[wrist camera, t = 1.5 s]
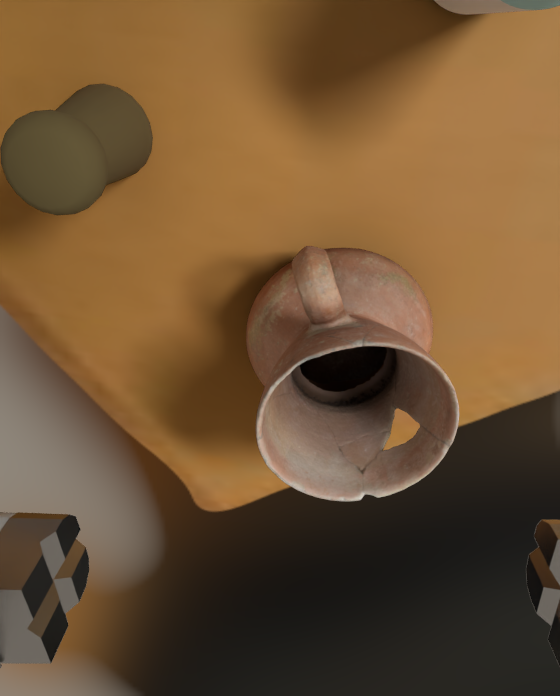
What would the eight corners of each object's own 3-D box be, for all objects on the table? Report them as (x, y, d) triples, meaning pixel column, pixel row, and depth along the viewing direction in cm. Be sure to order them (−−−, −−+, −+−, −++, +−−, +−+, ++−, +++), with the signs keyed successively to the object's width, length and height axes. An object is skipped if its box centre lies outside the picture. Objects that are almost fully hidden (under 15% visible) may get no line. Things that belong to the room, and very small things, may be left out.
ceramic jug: (432, 382, 45) (488, 506, 33) (277, 414, 47) (275, 543, 35) (407, 184, 37) (470, 254, 24) (216, 233, 38) (186, 321, 26)
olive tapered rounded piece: (150, 88, 33) (97, 112, 24) (154, 182, 36) (109, 236, 27) (56, 79, 33) (-35, 99, 23) (69, 174, 36) (-7, 226, 27)
